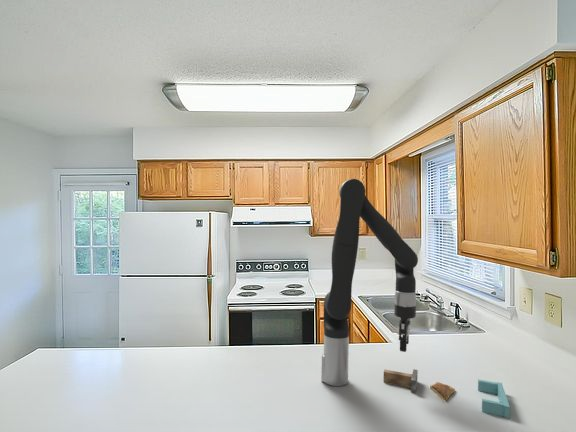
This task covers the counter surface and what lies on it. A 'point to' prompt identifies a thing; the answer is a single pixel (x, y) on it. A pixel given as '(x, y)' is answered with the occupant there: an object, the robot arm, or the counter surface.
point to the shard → (442, 390)
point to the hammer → (401, 379)
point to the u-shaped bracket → (493, 406)
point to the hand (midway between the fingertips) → (404, 347)
